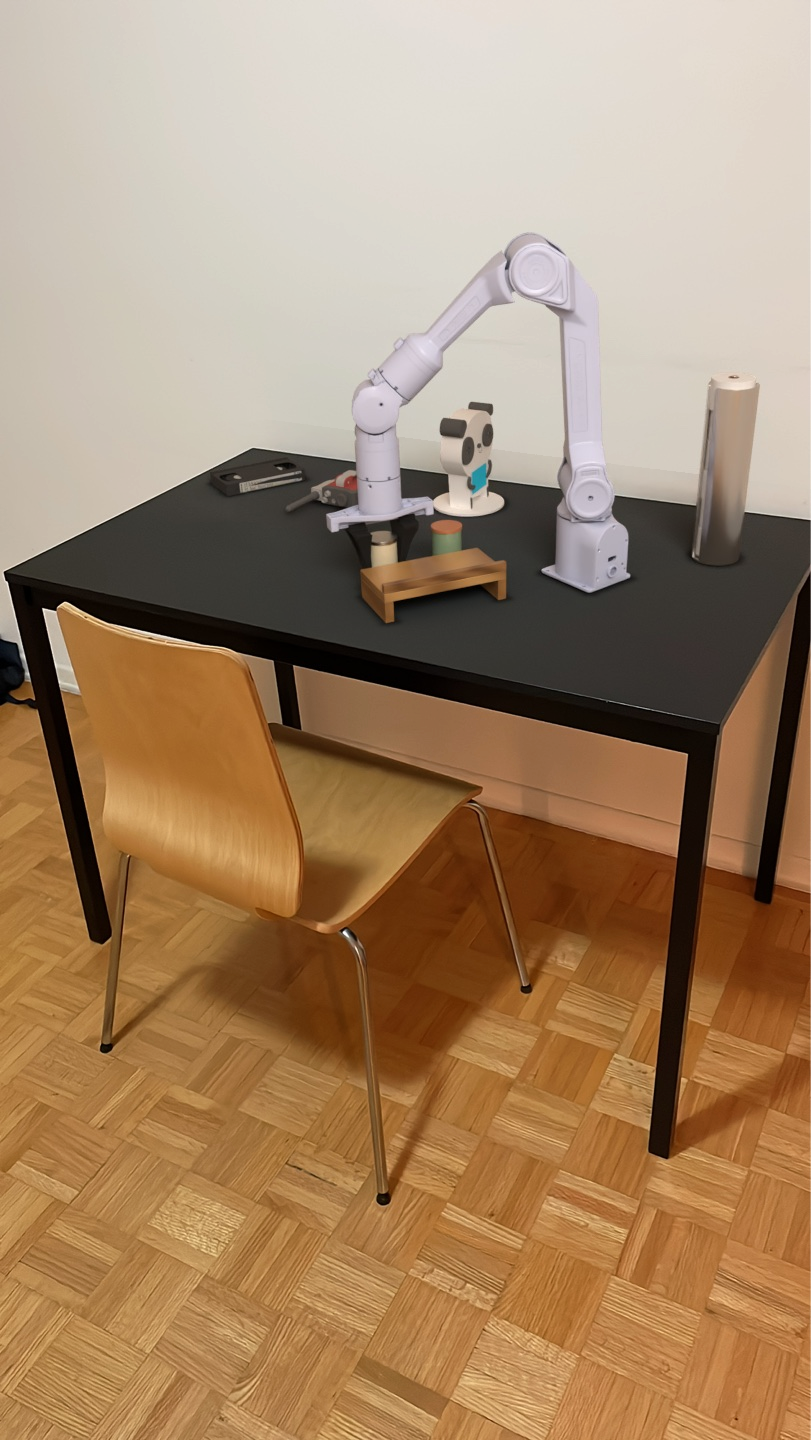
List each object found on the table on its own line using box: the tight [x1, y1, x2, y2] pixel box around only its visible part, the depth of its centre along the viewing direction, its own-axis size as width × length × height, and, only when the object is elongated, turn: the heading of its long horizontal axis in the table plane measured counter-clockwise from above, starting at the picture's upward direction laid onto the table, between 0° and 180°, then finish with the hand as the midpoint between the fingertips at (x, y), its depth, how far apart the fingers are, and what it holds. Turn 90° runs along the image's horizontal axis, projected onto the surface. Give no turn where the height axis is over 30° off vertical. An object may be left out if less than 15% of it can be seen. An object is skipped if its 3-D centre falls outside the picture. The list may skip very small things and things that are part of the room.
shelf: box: [359, 547, 507, 624], centre depth 149 cm, size 17×9×5 cm, turn 112°
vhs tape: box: [209, 457, 306, 497], centre depth 194 cm, size 14×8×2 cm, turn 119°
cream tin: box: [370, 530, 398, 567], centre depth 154 cm, size 4×4×6 cm
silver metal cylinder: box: [690, 371, 761, 567], centre depth 152 cm, size 6×6×25 cm
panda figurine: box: [433, 401, 505, 517], centre depth 177 cm, size 12×11×15 cm
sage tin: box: [430, 519, 463, 556], centre depth 157 cm, size 4×4×6 cm
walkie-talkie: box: [285, 469, 359, 513], centre depth 183 cm, size 9×4×20 cm
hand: (383, 571), depth 155 cm, fingers closed on cream tin, 4 cm apart
